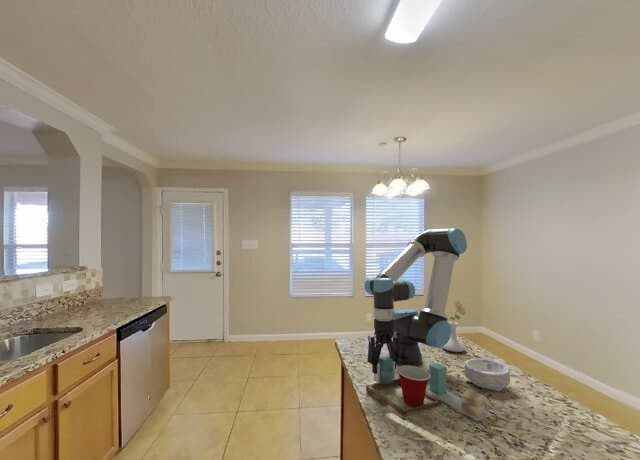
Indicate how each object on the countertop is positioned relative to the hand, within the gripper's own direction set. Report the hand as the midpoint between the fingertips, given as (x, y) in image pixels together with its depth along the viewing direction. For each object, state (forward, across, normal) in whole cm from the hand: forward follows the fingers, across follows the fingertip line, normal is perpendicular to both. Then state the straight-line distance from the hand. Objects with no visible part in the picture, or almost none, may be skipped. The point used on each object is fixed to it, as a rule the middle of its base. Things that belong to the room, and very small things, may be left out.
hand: (384, 379), depth 114 cm
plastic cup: (+3, 0, -15) cm, 16 cm away
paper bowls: (+3, +36, -16) cm, 40 cm away
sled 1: (+3, 0, -9) cm, 9 cm away
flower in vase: (+3, +58, +16) cm, 60 cm away
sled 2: (+3, +14, -22) cm, 26 cm away
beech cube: (+1, +14, -28) cm, 31 cm away
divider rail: (+3, +9, -22) cm, 24 cm away
